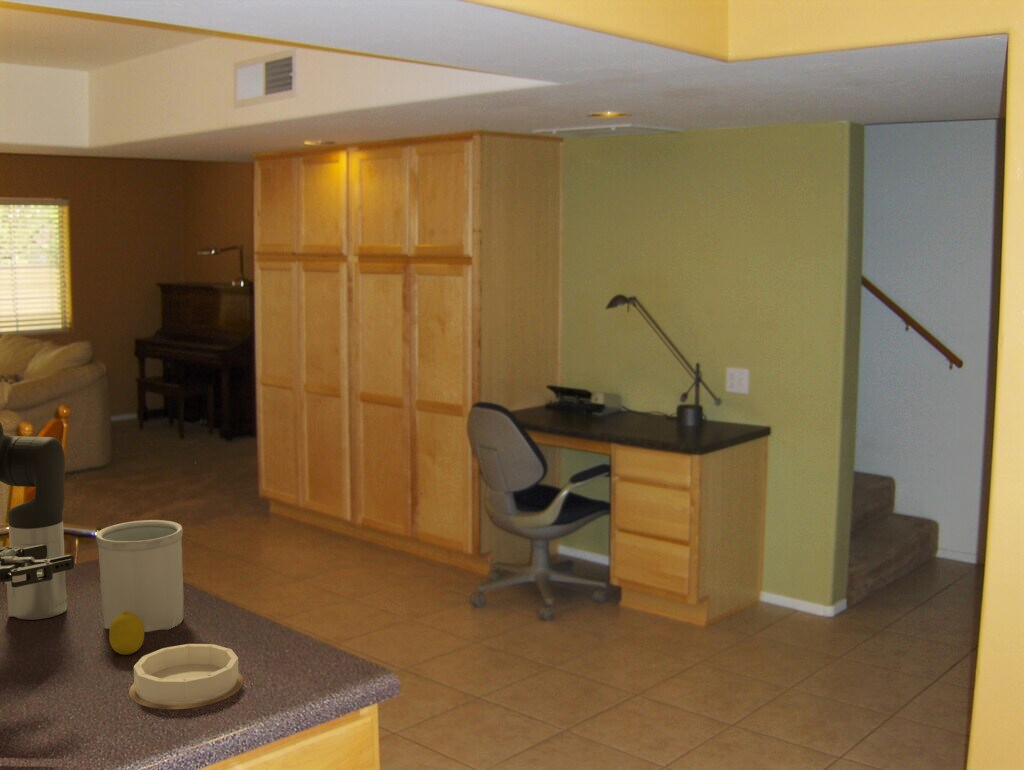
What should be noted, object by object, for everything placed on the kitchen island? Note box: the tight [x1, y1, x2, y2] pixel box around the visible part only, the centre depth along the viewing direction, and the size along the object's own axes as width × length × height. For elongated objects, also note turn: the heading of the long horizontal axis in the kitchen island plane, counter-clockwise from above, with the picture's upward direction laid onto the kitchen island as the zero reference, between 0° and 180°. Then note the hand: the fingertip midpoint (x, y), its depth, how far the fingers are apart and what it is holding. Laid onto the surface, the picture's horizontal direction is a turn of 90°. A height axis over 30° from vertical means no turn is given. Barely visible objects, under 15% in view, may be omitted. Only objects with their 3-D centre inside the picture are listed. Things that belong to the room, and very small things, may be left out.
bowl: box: [133, 643, 240, 706], centre depth 166 cm, size 15×15×4 cm
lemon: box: [108, 611, 145, 656], centre depth 179 cm, size 6×6×8 cm
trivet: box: [128, 671, 244, 710], centre depth 167 cm, size 17×17×1 cm
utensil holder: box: [95, 519, 184, 633], centre depth 194 cm, size 15×15×18 cm
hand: (59, 556), depth 168 cm, fingers open, 8 cm apart
